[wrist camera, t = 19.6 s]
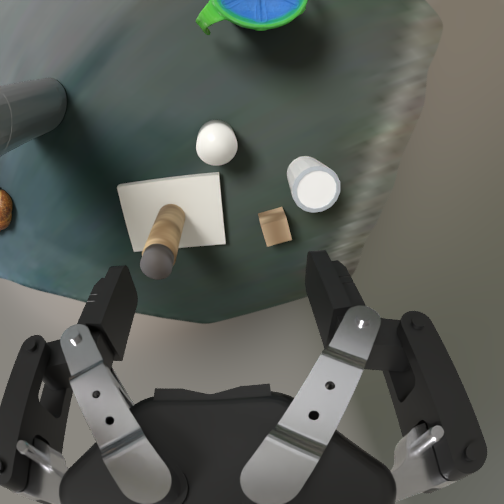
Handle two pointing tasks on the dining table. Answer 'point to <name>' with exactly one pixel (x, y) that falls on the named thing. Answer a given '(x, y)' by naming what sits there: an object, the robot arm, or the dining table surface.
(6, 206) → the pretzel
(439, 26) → the dining table surface
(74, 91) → the dining table surface
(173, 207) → the pepper mill
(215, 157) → the white rounded cylinder
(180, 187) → the stone tile
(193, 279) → the dining table surface
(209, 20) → the snack cup
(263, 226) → the wooden block
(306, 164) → the white tapered cylinder
